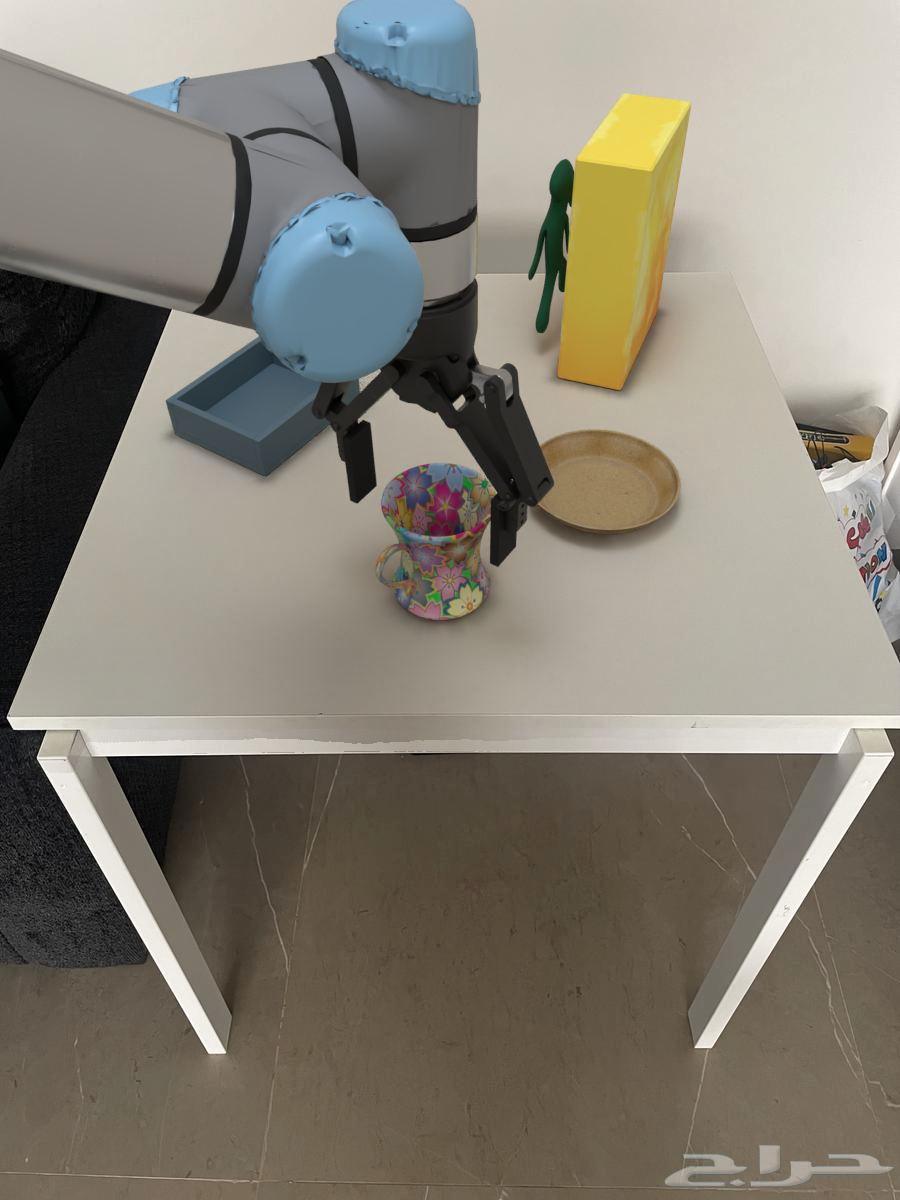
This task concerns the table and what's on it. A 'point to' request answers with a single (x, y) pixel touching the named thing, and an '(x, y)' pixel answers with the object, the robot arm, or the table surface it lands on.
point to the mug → (437, 539)
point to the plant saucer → (608, 481)
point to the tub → (250, 409)
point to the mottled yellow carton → (612, 237)
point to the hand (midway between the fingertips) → (430, 523)
